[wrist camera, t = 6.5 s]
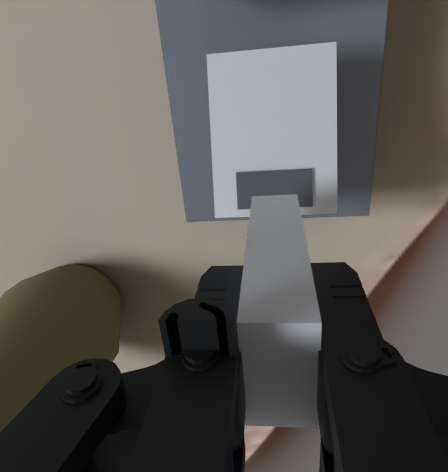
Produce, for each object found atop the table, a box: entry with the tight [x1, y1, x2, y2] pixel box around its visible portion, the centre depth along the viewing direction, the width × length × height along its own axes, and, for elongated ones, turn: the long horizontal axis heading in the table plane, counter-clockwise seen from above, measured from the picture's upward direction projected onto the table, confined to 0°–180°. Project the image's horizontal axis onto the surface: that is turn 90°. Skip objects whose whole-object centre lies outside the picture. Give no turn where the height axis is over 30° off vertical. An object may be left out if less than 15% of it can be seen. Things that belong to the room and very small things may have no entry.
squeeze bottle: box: [0, 264, 122, 432], centre depth 19 cm, size 8×8×18 cm
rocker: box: [206, 42, 337, 218], centre depth 15 cm, size 6×5×2 cm
